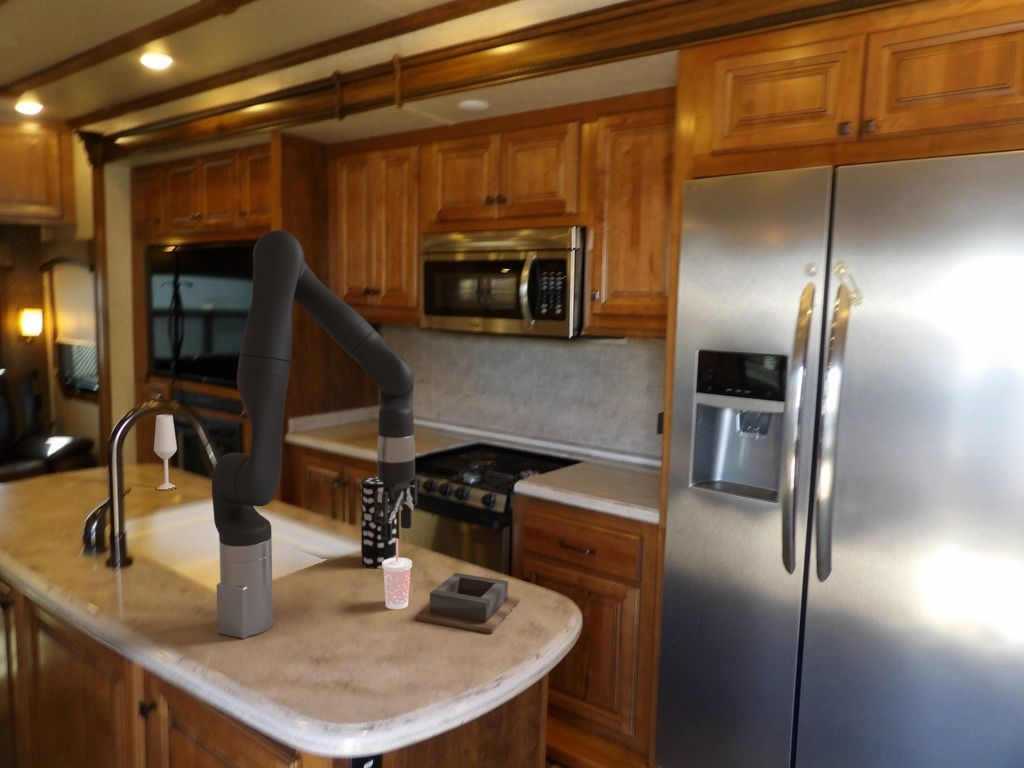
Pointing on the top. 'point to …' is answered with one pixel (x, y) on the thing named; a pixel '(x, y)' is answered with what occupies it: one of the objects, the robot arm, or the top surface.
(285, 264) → the robot arm
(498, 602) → the cup holder
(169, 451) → the champagne flute
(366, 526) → the white-spotted black cylinder
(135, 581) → the top surface
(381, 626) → the top surface
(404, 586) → the beverage cup
